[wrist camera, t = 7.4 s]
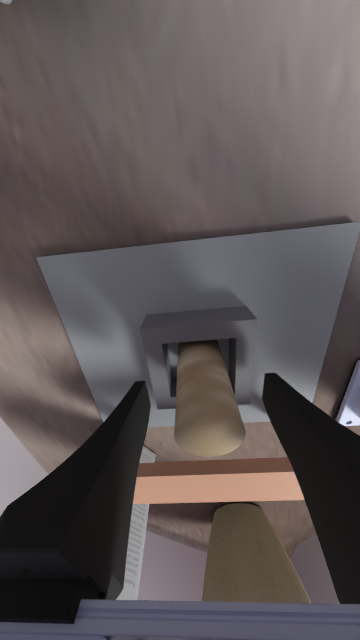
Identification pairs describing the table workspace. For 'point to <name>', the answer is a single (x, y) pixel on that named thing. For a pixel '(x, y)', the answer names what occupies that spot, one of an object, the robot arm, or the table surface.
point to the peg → (205, 402)
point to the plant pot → (248, 560)
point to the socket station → (205, 335)
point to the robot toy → (6, 1)
